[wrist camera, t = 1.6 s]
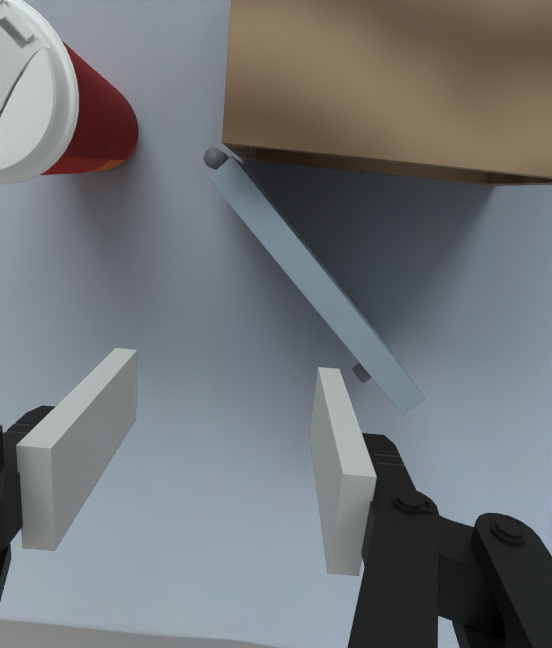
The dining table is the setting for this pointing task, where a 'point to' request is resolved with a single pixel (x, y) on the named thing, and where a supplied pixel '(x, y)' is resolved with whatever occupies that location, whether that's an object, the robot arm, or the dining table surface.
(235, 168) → the door
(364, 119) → the cabinet
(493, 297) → the dining table surface
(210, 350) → the dining table surface
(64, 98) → the paper cup
